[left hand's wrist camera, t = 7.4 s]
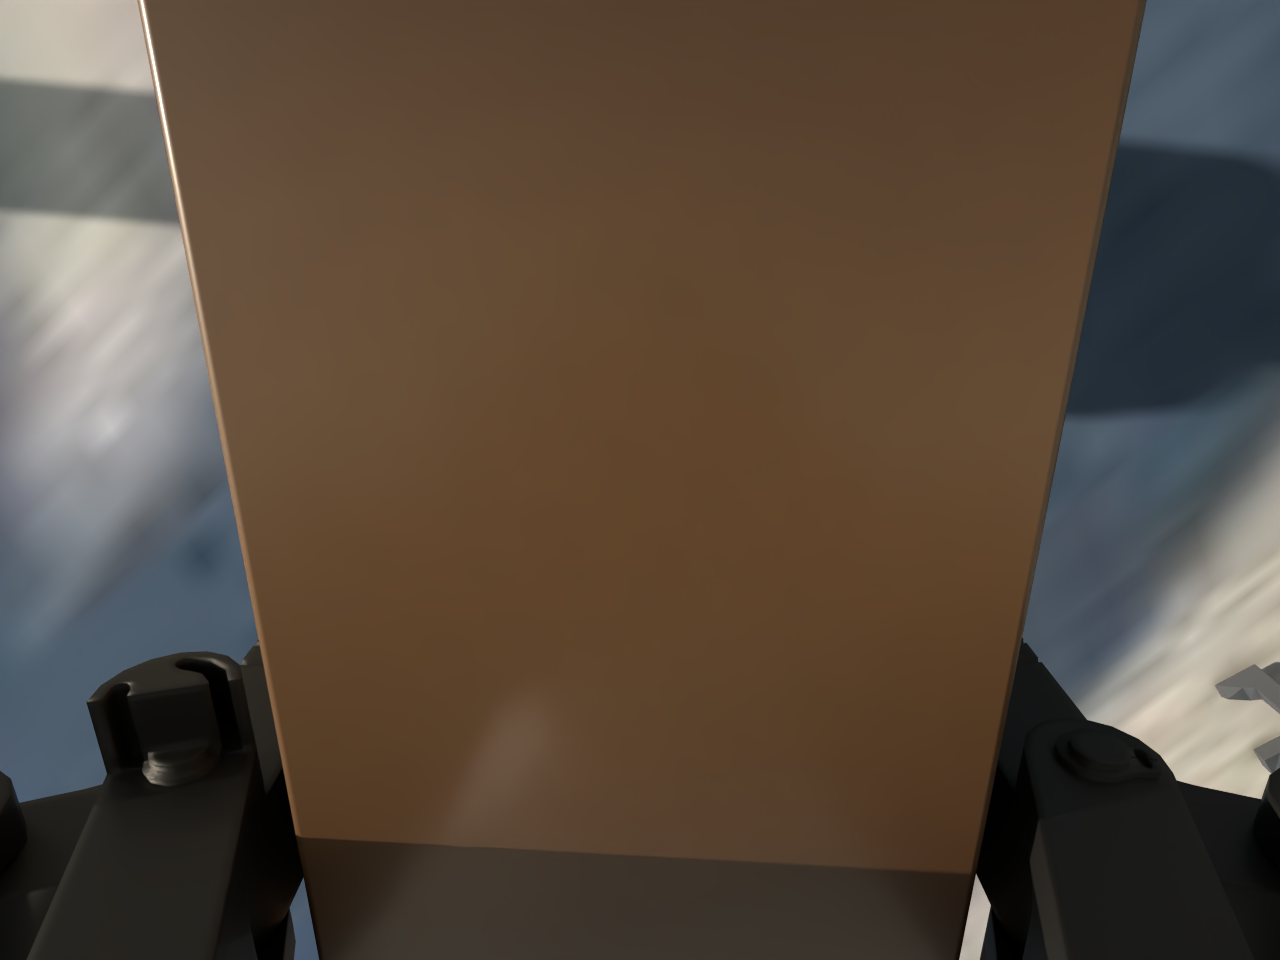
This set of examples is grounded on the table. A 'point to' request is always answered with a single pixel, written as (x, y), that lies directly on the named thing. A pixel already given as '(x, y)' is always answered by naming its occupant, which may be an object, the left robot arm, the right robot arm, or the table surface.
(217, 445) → the table surface
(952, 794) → the bar
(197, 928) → the left robot arm
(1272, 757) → the toy
